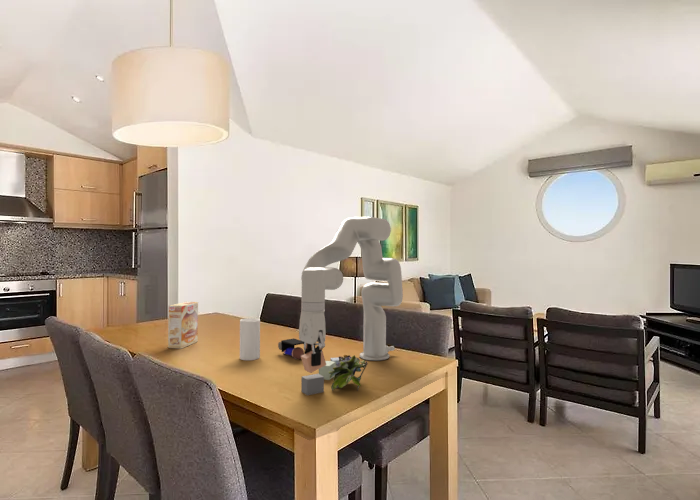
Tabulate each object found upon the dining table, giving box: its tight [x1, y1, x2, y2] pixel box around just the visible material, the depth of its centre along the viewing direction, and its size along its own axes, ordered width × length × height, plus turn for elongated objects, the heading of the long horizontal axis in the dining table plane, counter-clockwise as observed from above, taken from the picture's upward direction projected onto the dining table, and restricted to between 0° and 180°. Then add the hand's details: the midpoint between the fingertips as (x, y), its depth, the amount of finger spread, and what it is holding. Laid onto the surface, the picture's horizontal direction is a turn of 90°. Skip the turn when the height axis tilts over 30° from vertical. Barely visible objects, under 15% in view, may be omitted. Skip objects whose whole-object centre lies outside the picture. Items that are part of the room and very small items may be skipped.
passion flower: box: [329, 354, 368, 391], centre depth 142 cm, size 13×12×14 cm
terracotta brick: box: [301, 350, 326, 374], centre depth 137 cm, size 6×4×5 cm, turn 124°
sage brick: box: [318, 360, 336, 381], centre depth 153 cm, size 6×4×5 cm, turn 159°
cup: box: [239, 317, 261, 361], centre depth 178 cm, size 8×8×16 cm
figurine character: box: [277, 338, 304, 360], centre depth 181 cm, size 7×8×15 cm
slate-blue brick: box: [329, 356, 342, 364], centre depth 159 cm, size 6×4×5 cm, turn 104°
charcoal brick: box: [300, 373, 325, 396], centre depth 137 cm, size 6×4×5 cm, turn 123°
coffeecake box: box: [167, 301, 199, 349], centre depth 201 cm, size 15×7×20 cm, turn 171°
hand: (312, 363), depth 137 cm, fingers closed on terracotta brick, 4 cm apart
